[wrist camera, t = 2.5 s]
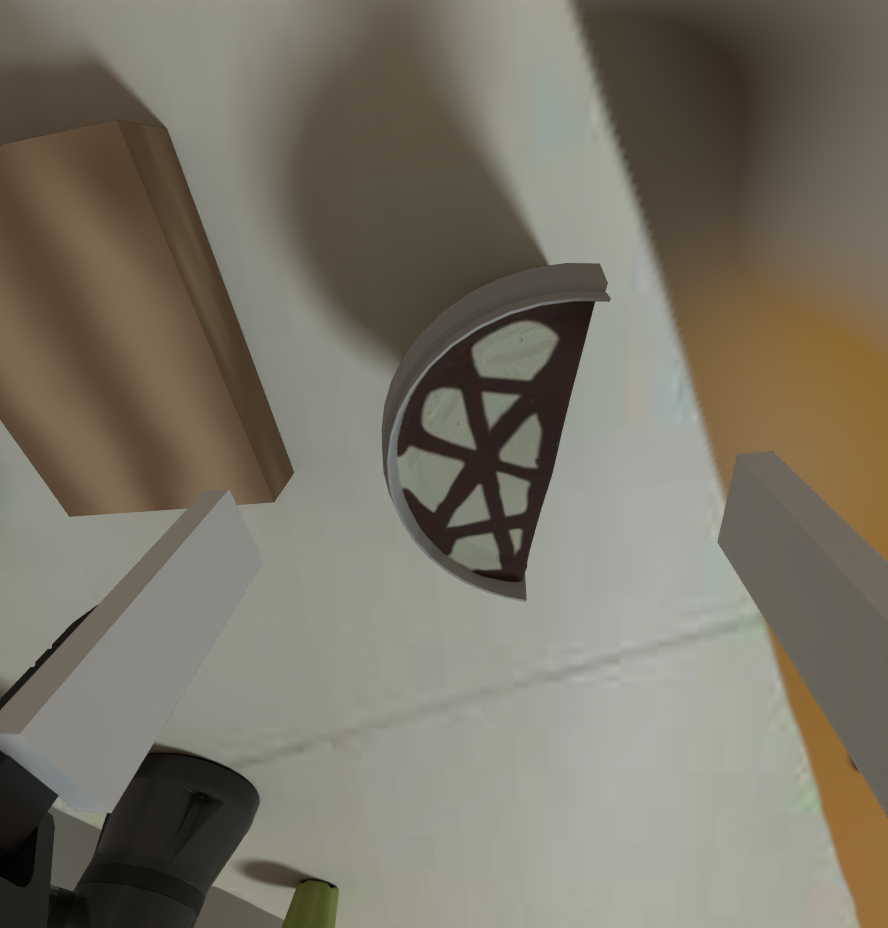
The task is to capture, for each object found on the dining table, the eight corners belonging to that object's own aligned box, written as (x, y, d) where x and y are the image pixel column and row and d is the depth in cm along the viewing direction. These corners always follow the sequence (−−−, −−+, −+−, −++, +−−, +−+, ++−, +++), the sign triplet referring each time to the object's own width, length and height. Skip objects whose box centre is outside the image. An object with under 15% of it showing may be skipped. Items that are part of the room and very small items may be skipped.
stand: (106, 487, 29) (69, 516, 27) (-89, 181, 21) (-170, 181, 18) (294, 472, 27) (274, 502, 25) (166, 128, 19) (116, 119, 16)
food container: (421, 221, 20) (370, 247, 11) (561, 236, 20) (617, 275, 11) (406, 460, 26) (368, 590, 18) (512, 473, 26) (523, 611, 18)
